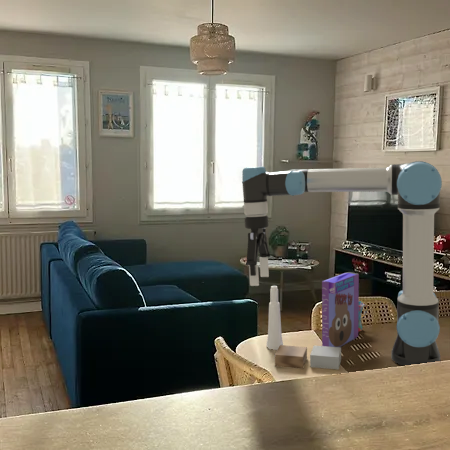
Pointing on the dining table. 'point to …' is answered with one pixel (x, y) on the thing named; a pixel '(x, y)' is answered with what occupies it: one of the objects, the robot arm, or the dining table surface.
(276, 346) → the cosmetic bottle
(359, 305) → the mug
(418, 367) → the dining table surface
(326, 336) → the cereal box
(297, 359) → the walnut stand
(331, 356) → the grey stand
